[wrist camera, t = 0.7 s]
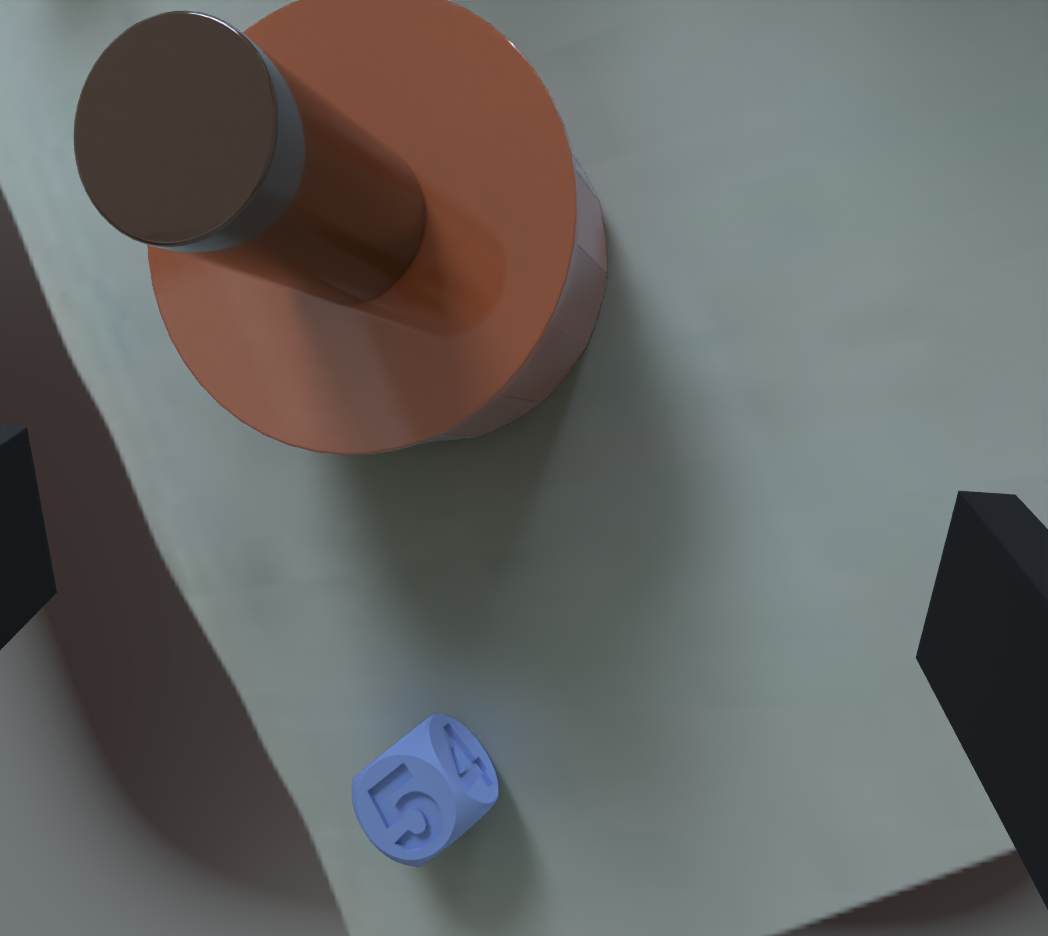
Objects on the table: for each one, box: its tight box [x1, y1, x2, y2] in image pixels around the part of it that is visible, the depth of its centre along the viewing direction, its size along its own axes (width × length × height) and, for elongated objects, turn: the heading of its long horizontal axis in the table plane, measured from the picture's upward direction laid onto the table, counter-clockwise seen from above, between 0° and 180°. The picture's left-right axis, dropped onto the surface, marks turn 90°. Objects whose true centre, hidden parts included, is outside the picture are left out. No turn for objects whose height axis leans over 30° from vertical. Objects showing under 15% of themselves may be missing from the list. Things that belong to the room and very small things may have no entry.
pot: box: [424, 153, 607, 443], centre depth 34 cm, size 14×14×8 cm
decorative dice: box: [352, 713, 498, 867], centre depth 36 cm, size 4×4×4 cm
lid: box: [74, 0, 580, 455], centre depth 26 cm, size 15×15×10 cm
